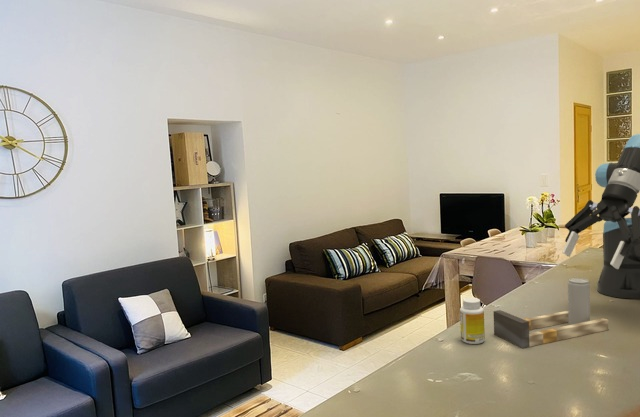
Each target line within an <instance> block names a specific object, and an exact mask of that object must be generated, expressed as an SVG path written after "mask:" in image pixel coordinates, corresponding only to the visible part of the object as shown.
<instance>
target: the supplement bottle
mask: <svg viewBox="0 0 640 417" xmlns="http://www.w3.org/2000/svg"><path fill="white" fill-rule="evenodd" d="M484 310H485V309H484V308H483V307H482V306H481V299H480V298H477V297H464V298H463V300H462V306H461V307H460V309H459V319H460V320H459V321H460V323H459V324H460V338H461V341H462V342H463V343H465V344H470V345H478V344H479V345H480V344H482V343H484V342H485V336H486V334H485V311H484Z"/></svg>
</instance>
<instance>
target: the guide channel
mask: <svg viewBox="0 0 640 417" xmlns="http://www.w3.org/2000/svg"><path fill="white" fill-rule="evenodd" d="M566 323H569V321H568V310H564V311H559V312H554V313H548V314H544V315H538V316H532V317H528V318H527V317H526V318H521V317H519V316H516V315H513V314H511V313H508V312H506V311H503V310H501V309H498V310H494V311H493V335H494V336H497V337H499V338H500V339H503V340H505V341H506V342H508V343H510V344H513V345H515V346H517V347H519V348H520V349H521V348H522V349H524V348H530V347H534V346H538V345H544V344H549V343H553V342H558V341H562V340H563V341H564V340H567V339H572V338H576V337H577V338H578V337H581V336H586V335H590V334H596V333H600V332H605V331H608V330H609V319H606V318H598V319H593V320H590V321H587V322H582V323H577V324H572V325H569V324H568V325H564V326H558V327H553V328H549V329H544V330H537V329H542V328H547V327H551V326H557V325H562V324H566ZM532 330H537V331H534V332H530V331H532Z"/></svg>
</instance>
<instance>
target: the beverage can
mask: <svg viewBox="0 0 640 417" xmlns="http://www.w3.org/2000/svg"><path fill="white" fill-rule="evenodd" d="M590 284H591V283H590V280H589V279H587V278H582V277H581V278H580V277H574V278H569V279H568V282H567V288H568V289H567V301H568V302H567V306H568V307H567V308H568V310H567V311H568V321H569V322H568V325H572V324H577V323H582V322H587V321H591V308H590V307H591V304H590V303H591V300H590V299H591V298H590V296H591V295H590V294H591V293H590V292H591V290H590V289H591V285H590Z"/></svg>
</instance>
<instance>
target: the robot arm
mask: <svg viewBox="0 0 640 417" xmlns="http://www.w3.org/2000/svg"><path fill="white" fill-rule="evenodd" d="M594 175H595V183H597V185H598V186H599V187H601V188H604V190H603V192H602V194H601V200H600V201H599V202H594V201H593V200H592V199H589V200H588V201H587V202H586V204H585V205H584V207H583V208H582V209H581V210H579V211H578V212H577V213H576V214H575V215H574V216H572V217H571V219H570V220H569V221H567V222H566V223H565V224H564V228H565V229H567V231H568V234H567V236H566V238H565V240H564V241H565V245H564V247H563V249H562V254H563V255H565V256H566V257H569V258H570V257H571V255H572V253H573V251H574V249H575V247H576V245H577V242H578V240H579V239H580V235H579V234H580V233H581V232H583V231H585V230H587V229H588V228H590V227H592V226H593V225H594V224H595V225H596V224H597V223H599V222H602V221H605V222H604V223H603V232H602V241H603V242H602V243H603V244H602V246H603V248H602V249H603V268H602V269H601V272H600V276H599V278H598V281H597V282H596V283H597V284H596V289H597V292H598V293H600V294H602V295H604V296H609V297H613V298H620V299H633V300H634V299H635V300H640V207H639V206H638V205H635V206H634V204H635V203H636V200H637V198H638V194H639V193H640V133H636V134H633V135H632V136H630V137H629V138H628V140H627V142H626V144H625V145H624V147H623V150H622V151H621V154H620V157H619V158H618V161H617V162H606V163H602V164H600V165H599V166H598V167H597V168H596V170H595V174H594ZM628 215H630V217H627V216H628Z"/></svg>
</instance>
